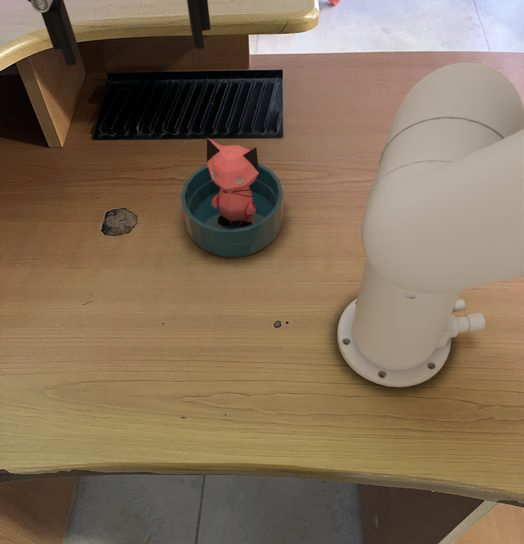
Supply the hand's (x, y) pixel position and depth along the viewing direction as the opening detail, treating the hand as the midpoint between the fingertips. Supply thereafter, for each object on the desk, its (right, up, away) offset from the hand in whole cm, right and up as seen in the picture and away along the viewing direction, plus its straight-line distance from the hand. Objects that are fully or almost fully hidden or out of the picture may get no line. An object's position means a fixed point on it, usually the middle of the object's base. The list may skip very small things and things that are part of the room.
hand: (135, 47), depth 44 cm
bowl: (+6, -6, +31) cm, 33 cm away
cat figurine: (+7, -6, +31) cm, 32 cm away
